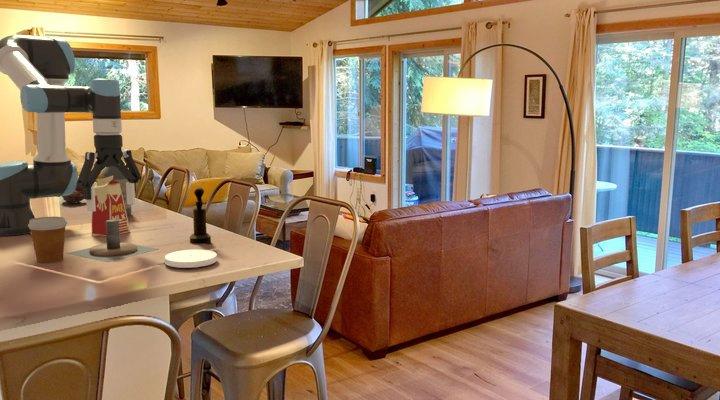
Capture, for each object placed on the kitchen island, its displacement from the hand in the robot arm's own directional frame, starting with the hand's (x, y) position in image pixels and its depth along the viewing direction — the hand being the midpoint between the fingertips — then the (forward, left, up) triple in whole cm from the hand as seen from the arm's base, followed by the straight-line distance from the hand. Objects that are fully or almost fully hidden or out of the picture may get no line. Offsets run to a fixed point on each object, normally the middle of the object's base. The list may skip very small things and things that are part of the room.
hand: (112, 207), depth 175 cm
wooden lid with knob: (0, 0, -13) cm, 13 cm away
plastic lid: (+27, +4, -14) cm, 30 cm away
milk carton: (-22, +16, -14) cm, 31 cm away
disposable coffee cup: (-6, -16, -14) cm, 22 cm away
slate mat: (0, 0, -14) cm, 14 cm away
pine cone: (-87, +49, -14) cm, 101 cm away
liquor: (-49, +41, -14) cm, 66 cm away
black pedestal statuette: (+12, +23, -14) cm, 29 cm away
